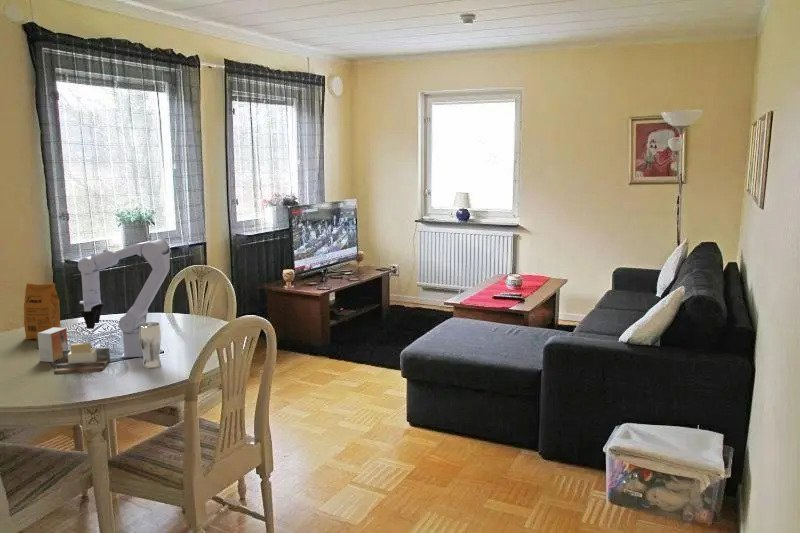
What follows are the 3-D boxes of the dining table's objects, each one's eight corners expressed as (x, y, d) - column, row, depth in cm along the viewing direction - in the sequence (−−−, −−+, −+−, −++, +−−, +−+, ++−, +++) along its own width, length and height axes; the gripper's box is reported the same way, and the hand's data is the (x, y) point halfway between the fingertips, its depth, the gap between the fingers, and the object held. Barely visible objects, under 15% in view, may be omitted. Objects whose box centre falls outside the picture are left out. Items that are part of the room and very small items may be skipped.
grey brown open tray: (110, 359, 228) (109, 347, 227) (102, 370, 216) (101, 358, 215) (64, 362, 224) (63, 349, 224) (54, 373, 213) (53, 360, 212)
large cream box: (97, 359, 225) (95, 340, 223) (93, 364, 220) (92, 344, 219) (72, 361, 223) (70, 341, 221) (68, 365, 218) (66, 345, 217)
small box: (53, 362, 224) (50, 333, 222) (39, 361, 225) (36, 332, 223) (69, 355, 231) (66, 327, 230) (55, 354, 233) (53, 326, 231)
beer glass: (166, 364, 223) (164, 323, 221) (151, 370, 217) (149, 328, 214) (152, 361, 226) (149, 320, 224) (136, 367, 220) (134, 325, 217)
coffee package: (35, 333, 259) (30, 280, 255) (65, 333, 259) (61, 280, 255) (20, 340, 249) (15, 285, 245) (52, 340, 249) (47, 285, 245)
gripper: (84, 285, 237) (86, 320, 239) (73, 294, 223) (76, 331, 225) (104, 285, 238) (106, 320, 241) (95, 293, 224) (97, 330, 227)
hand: (93, 325), depth 233 cm, fingers open, 7 cm apart
